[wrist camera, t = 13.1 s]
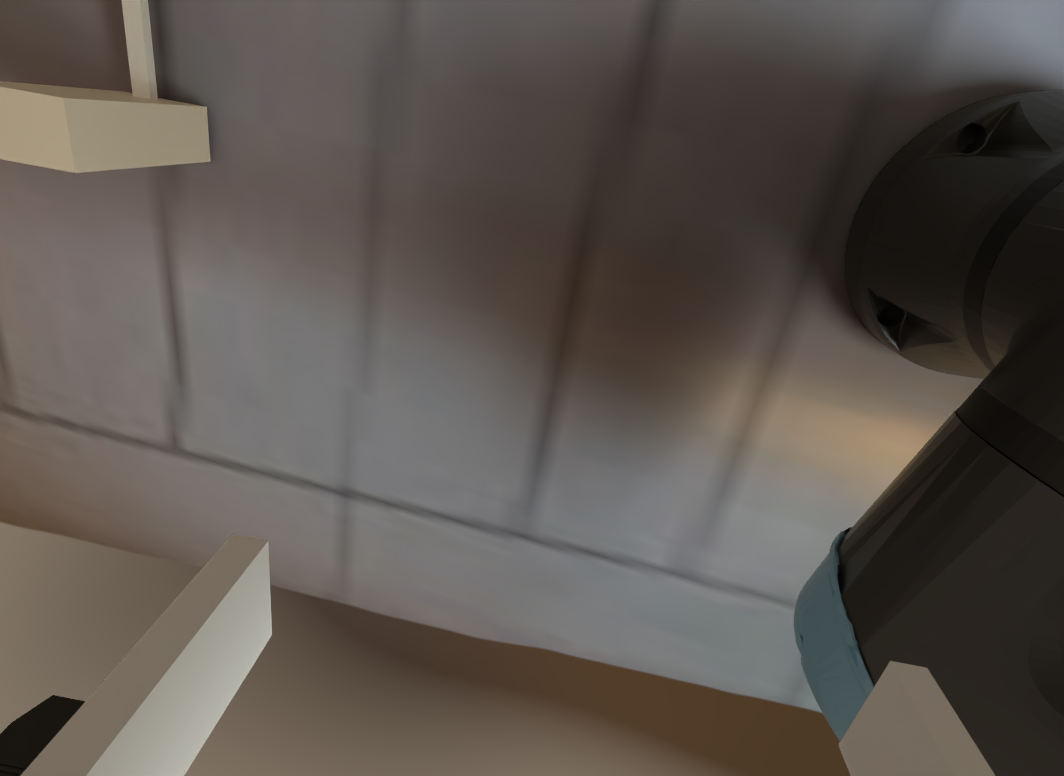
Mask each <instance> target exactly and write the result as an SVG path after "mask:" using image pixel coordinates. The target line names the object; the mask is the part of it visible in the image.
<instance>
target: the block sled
mask: <svg viewBox="0 0 1064 776" xmlns="http://www.w3.org/2000/svg"><path fill="white" fill-rule="evenodd" d="M122 9H123V17H124V26H125V34H126V43H127V51H128V60H129V68H130V77H131V86H132V93H129V92H124V91H113V90H100V89H88V88H76V87H64V86H52V85H40V84H28V83H16V82H4V81H0V159H3V160H8V161H13V162H19V163H24V164H30V165H35V166H40V167H46V168H51V169H56V170H62V171H67V172H73V173H82V172H93V171H105V170H117V169H129V168H141V167H153V166H165V165H176V164H188V163H200V162H211V161H210V146H209V132H208V117H207V107H205V106H200V105H194V104H189V103H183V102H178V101H172V100H167V99H162V98H158V96H157V86H156V76H155V66H154V56H153V46H152V36H151V26H150V17H149V7H148V0H122Z"/></svg>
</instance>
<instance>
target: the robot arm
mask: <svg viewBox="0 0 1064 776" xmlns="http://www.w3.org/2000/svg"><path fill="white" fill-rule="evenodd" d="M845 275H846V283H847V288H848V293H849V296H850V299H851V302H852V304H853V307H854V309H855V311H856V313H857V315H858V317H859V318H860V320H861V321H862V323H863V324H864V325H865V327H866V328H867V329H868V330H869V331H870V332H871V333H872V334H873V335H874V336H875V337H876V338H877V339H878V340H879V341H881V342H882V343H884V344H885V345H886V346H888V347H889V348H891V349H892V350H893V351H895V352H896V353H898V354H899V355H900V356H902V357H904V358H905V359H907V360H909V361H911V362H913V363H915V364H917V365H920V366H923V367H925V368H928V369H931V370H934V371H937V372H942V373H946V374H953V375H960V376H967V377H974V378H981V379H984V380H983V381H982V382H981V384H980V385H979V386H978V387H977V388H976V389H975V390H974V391H973V393H972V394H971V395H970V396H969V397H968V398H967V399H966V401H965V402H964V403H963V404H962V405H961V406H960V407H959V408H958V409H957V410H956V411H954V413H953V414H952V415H951V416H950V417H949V418H948V419H947V420H946V422H945V423H944V424H943V425H942V426H941V427H940V428H939V430H938V431H937V432H936V433H935V434H934V435H933V436H932V438H931V439H930V440H929V441H928V442H927V443H926V444H925V445H924V447H923V448H922V449H921V450H920V451H919V452H918V453H917V455H916V456H915V457H914V458H913V459H912V460H911V461H910V463H909V464H908V465H907V466H906V467H905V468H904V469H903V470H902V472H901V473H900V474H899V475H898V476H897V477H896V478H895V480H894V481H893V482H892V483H891V484H890V485H889V486H888V488H887V489H886V490H885V491H884V492H883V493H882V494H881V495H880V497H879V498H878V499H877V500H876V501H875V502H874V503H873V505H872V506H871V507H870V508H869V509H868V510H867V511H866V513H865V514H864V515H863V516H862V517H861V518H860V519H859V520H858V522H857V523H856V524H855V525H854V526H853V527H851V528H848V529H847V530H845V531H842V532H840V533H839V534H838V535H837V537H836V538H835V539H834V541H833V542H832V545H831V548H830V553H829V554H828V555H827V557H826V558H825V559H824V560H823V562H822V563H821V564H820V566H819V567H818V568H817V569H816V571H815V572H814V573H813V575H812V576H811V577H810V578H809V580H808V581H807V582H806V584H805V585H804V587H803V588H802V590H801V592H800V594H799V596H798V599H797V602H796V607H795V613H794V631H795V637H796V643H797V646H798V648H799V651H800V653H801V665H802V668H803V671H804V673H805V676H806V678H807V681H808V684H809V686H810V688H811V690H812V693H813V695H814V697H815V699H816V701H817V703H818V705H819V707H820V709H821V710H822V712H823V714H824V716H825V718H826V719H827V721H828V723H829V725H830V726H831V728H832V729H833V731H834V733H835V734H836V736H837V737H838V739H839V740H840V743H839V747H840V750H841V753H842V755H843V757H844V760H845V762H846V765H847V767H848V770H849V772H850V775H851V776H1064V90H1048V91H1035V92H1023V93H1014V94H1007V95H1002V96H997V97H993V98H989V99H986V100H983V101H980V102H977V103H974V104H971V105H969V106H966V107H964V108H962V109H960V110H958V111H955V112H953V113H951V114H950V115H948V116H946V117H944V118H942V119H941V120H939V121H937V122H936V123H934V124H933V125H931V126H930V127H928V128H927V129H925V130H924V131H922V132H921V133H920V134H919V135H917V136H916V137H915V138H914V139H912V140H911V141H910V142H909V143H908V144H907V145H905V146H904V147H903V148H902V149H901V150H900V151H899V152H898V153H897V154H896V155H895V156H894V157H893V158H892V159H891V160H890V162H889V163H888V164H887V165H886V166H885V167H884V169H883V170H882V171H881V172H880V174H879V175H878V176H877V178H876V179H875V181H874V182H873V184H872V185H871V186H870V188H869V190H868V191H867V193H866V195H865V197H864V198H863V200H862V202H861V204H860V206H859V209H858V211H857V213H856V215H855V218H854V221H853V224H852V227H851V230H850V234H849V238H848V243H847V248H846V257H845ZM271 636H272V625H271V600H270V573H269V547H268V541H266V540H261V539H256V538H251V537H245V536H240V535H235V534H232V535H231V536H230V537H229V539H228V540H227V541H226V542H225V543H224V544H223V545H222V546H221V548H220V549H219V550H218V551H217V552H216V553H215V554H214V556H213V557H212V558H211V559H210V560H209V561H208V562H207V564H206V565H205V566H204V567H203V568H202V569H201V570H200V572H199V573H198V574H197V575H196V576H195V577H194V578H193V580H192V581H191V582H190V583H189V584H188V585H187V586H186V588H185V589H184V590H183V591H182V592H181V593H180V594H179V596H178V597H177V598H176V599H175V600H174V601H173V602H172V604H171V605H170V606H169V607H168V608H167V609H166V610H165V611H164V613H163V614H162V615H161V616H160V617H159V619H158V620H157V621H156V622H155V623H154V624H153V625H152V626H151V627H150V629H149V630H148V631H147V632H146V633H145V634H144V635H143V637H142V638H141V639H140V640H139V641H138V642H137V643H136V644H135V646H134V647H133V648H132V649H131V650H130V651H129V652H128V654H127V655H126V656H125V657H124V658H123V659H122V661H121V662H120V663H119V664H118V665H117V666H116V667H115V669H114V670H113V671H112V672H111V673H110V674H109V675H108V676H107V678H106V679H105V680H104V681H103V682H102V683H101V684H100V686H99V687H98V688H97V689H96V690H95V691H94V692H93V693H92V695H91V696H90V697H89V698H88V699H87V700H86V701H80V700H75V699H70V698H65V697H59V696H55V695H53V696H51V697H50V698H48V699H47V700H45V701H43V702H42V703H40V704H39V705H37V706H36V707H34V708H33V709H32V710H30V711H28V712H27V713H25V714H24V715H22V716H21V717H20V718H18V719H16V720H15V721H13V722H12V723H11V724H10V725H9V726H8V727H7V728H6V729H5V730H4V731H3V732H2V733H1V734H0V776H184V775H185V773H186V772H187V770H188V769H189V767H190V765H191V764H192V762H193V760H194V759H195V757H196V755H197V754H198V752H199V751H200V749H201V748H202V746H203V744H204V742H205V741H206V740H207V738H208V736H209V735H210V733H211V732H212V730H213V728H214V727H215V725H216V724H217V722H218V720H219V719H220V717H221V716H222V714H223V712H224V711H225V709H226V707H227V706H228V704H229V703H230V701H231V700H232V698H233V696H234V695H235V693H236V692H237V690H238V688H239V687H240V685H241V684H242V682H243V680H244V679H245V677H246V675H247V674H248V672H249V671H250V669H251V668H252V666H253V664H254V663H255V661H256V660H257V658H258V656H259V655H260V653H261V652H262V650H263V648H264V647H265V645H266V643H267V642H268V640H269V639H270V637H271Z"/></svg>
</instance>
